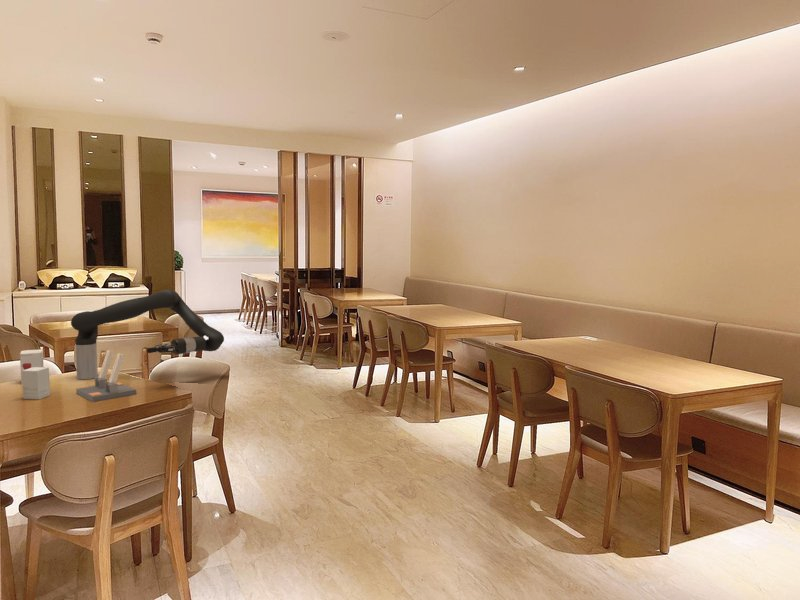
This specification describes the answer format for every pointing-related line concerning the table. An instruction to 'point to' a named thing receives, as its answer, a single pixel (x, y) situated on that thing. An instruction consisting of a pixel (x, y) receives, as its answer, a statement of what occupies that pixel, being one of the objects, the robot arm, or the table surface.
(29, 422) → the table surface
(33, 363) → the supplement box
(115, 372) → the lever near
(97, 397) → the switch base
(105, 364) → the lever far
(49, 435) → the table surface
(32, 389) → the supplement box
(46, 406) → the table surface
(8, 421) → the table surface
